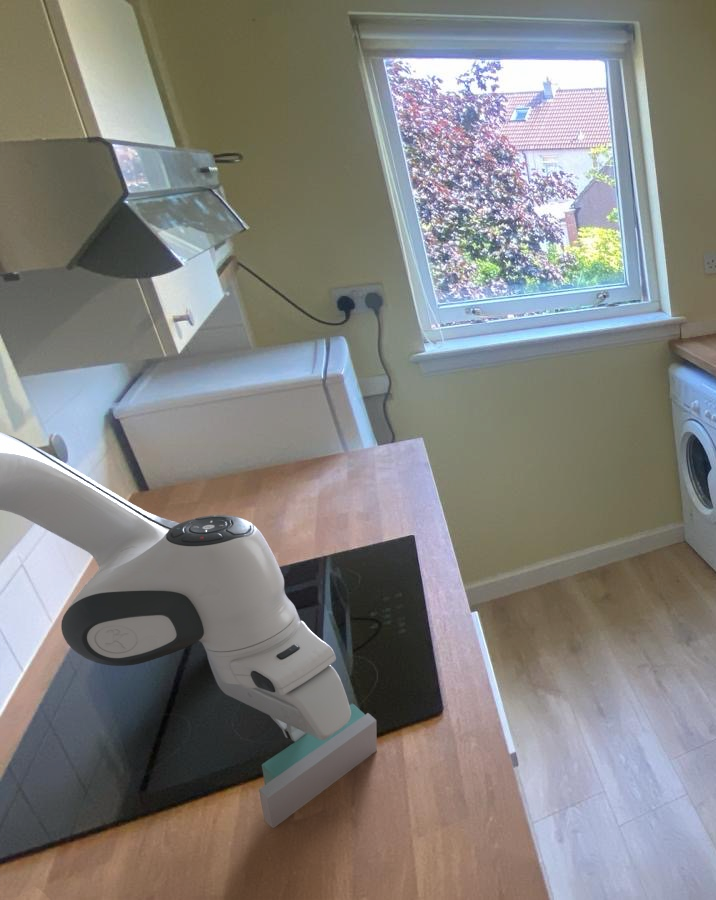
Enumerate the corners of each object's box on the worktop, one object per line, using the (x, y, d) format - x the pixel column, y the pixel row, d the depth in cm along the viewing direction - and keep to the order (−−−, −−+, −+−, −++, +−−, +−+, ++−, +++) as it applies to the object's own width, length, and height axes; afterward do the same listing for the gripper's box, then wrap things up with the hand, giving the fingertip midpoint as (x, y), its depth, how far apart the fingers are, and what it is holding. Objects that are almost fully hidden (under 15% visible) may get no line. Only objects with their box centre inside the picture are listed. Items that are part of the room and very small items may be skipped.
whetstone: (272, 828, 85) (267, 798, 82) (248, 804, 87) (241, 772, 83) (377, 750, 96) (376, 720, 92) (353, 729, 97) (352, 698, 93)
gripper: (177, 639, 85) (220, 728, 91) (287, 689, 77) (326, 783, 83) (234, 609, 90) (271, 695, 96) (343, 652, 82) (377, 743, 88)
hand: (298, 736), depth 89 cm, fingers closed, pressing on whetstone
